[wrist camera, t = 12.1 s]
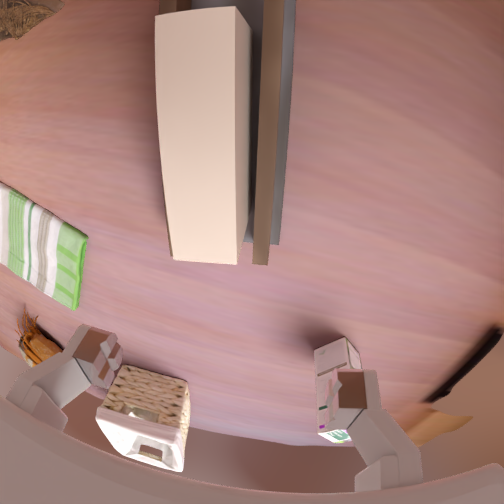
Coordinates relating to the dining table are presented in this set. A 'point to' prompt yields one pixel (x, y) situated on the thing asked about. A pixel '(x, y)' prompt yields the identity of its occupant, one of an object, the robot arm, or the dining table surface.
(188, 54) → the white rectangular block
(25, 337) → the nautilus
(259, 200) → the slot rack
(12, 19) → the wooden fragment
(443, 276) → the dining table surface
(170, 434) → the storage basket
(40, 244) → the dish towel
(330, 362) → the syrup box
